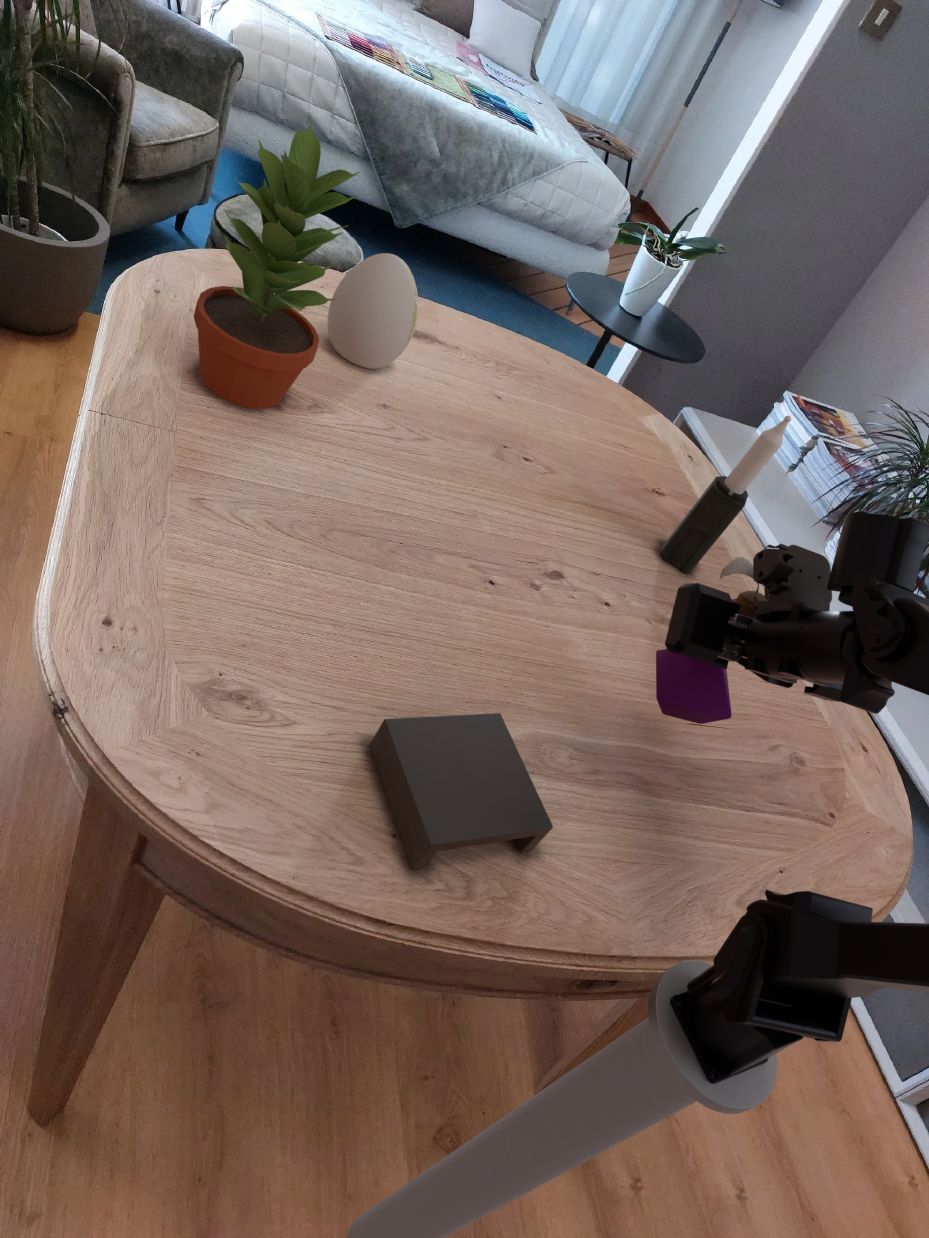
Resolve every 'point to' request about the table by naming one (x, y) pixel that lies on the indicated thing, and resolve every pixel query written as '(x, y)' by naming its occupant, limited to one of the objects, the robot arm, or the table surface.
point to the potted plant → (270, 283)
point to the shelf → (456, 784)
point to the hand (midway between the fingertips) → (708, 641)
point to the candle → (720, 504)
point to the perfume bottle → (701, 670)
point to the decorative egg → (374, 311)
